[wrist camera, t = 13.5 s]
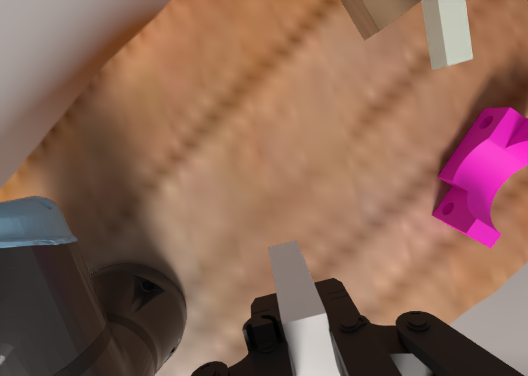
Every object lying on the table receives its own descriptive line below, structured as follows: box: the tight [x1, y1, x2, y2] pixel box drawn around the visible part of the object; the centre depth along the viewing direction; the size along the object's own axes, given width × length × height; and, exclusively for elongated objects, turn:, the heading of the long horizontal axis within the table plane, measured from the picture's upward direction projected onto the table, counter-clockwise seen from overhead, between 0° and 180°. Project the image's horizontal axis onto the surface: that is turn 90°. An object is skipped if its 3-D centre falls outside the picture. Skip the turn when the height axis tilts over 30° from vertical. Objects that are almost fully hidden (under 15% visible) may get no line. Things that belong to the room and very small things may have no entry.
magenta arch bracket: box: [432, 107, 528, 248], centre depth 41 cm, size 15×6×8 cm, turn 150°
